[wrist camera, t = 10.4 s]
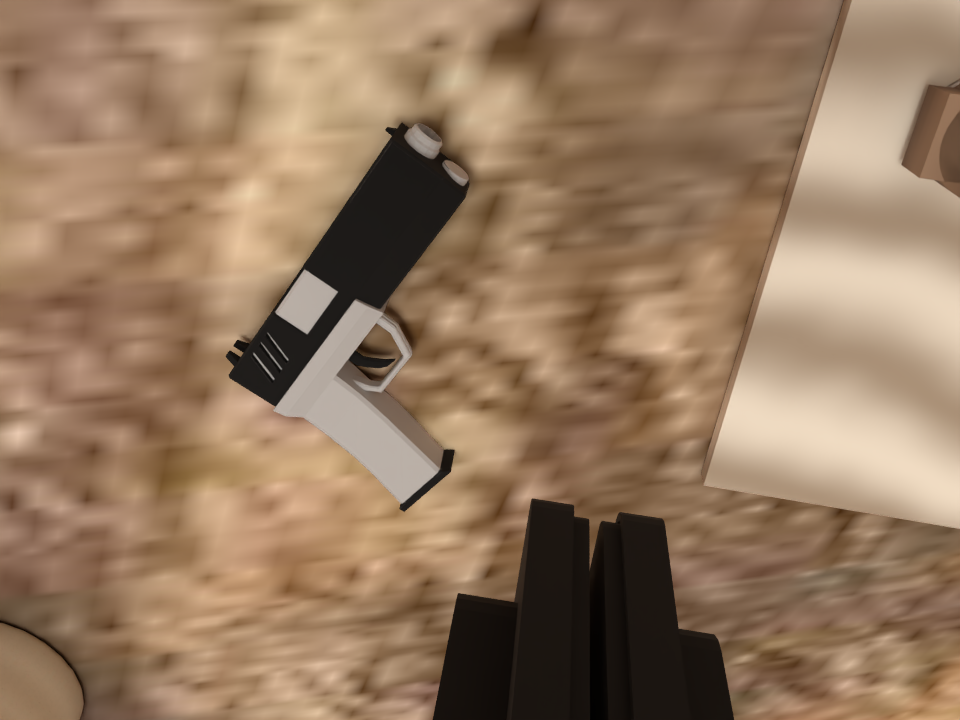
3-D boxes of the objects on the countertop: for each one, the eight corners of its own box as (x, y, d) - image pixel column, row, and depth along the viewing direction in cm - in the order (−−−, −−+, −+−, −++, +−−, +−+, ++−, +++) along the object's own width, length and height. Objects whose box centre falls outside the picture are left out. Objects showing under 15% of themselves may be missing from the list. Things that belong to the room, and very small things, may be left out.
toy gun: (622, 291, 35) (387, 115, 32) (409, 521, 42) (200, 393, 39) (617, 262, 37) (400, 98, 35) (418, 482, 44) (224, 360, 42)
